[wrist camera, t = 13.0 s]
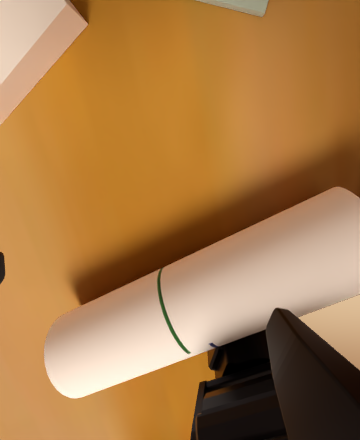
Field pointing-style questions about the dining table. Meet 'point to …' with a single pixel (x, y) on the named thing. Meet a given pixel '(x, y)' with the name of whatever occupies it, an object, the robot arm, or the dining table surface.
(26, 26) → the socket block
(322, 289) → the cylindrical container
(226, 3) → the pad
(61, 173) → the dining table surface
